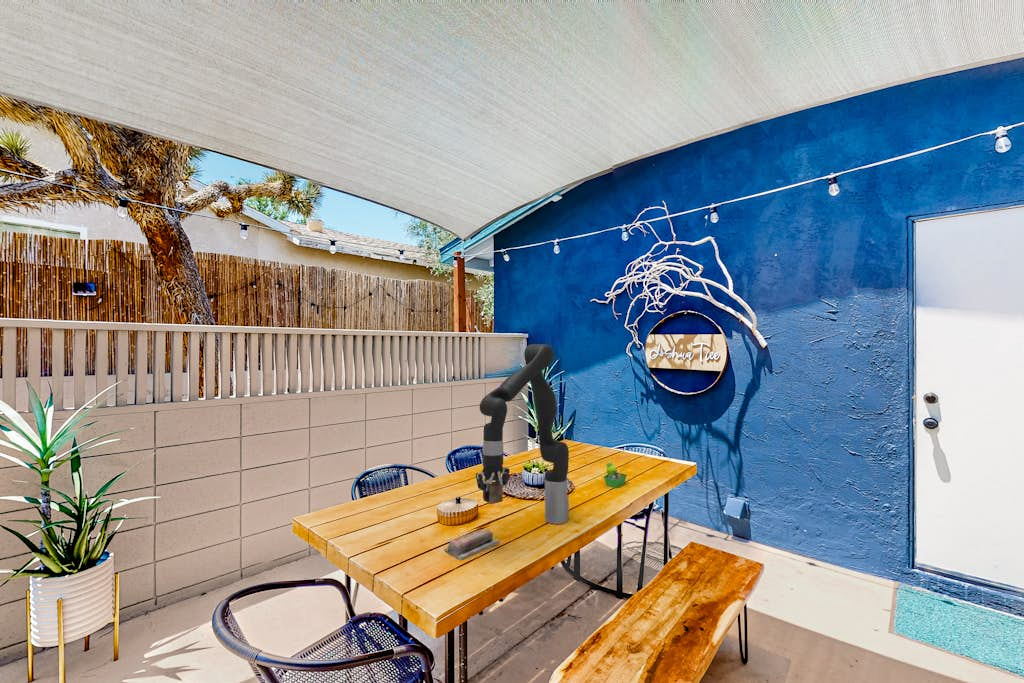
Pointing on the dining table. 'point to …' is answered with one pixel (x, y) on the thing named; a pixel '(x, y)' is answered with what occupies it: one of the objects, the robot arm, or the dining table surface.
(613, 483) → the potted cactus
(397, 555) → the dining table surface
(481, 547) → the packaged product
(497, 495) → the walnut block
